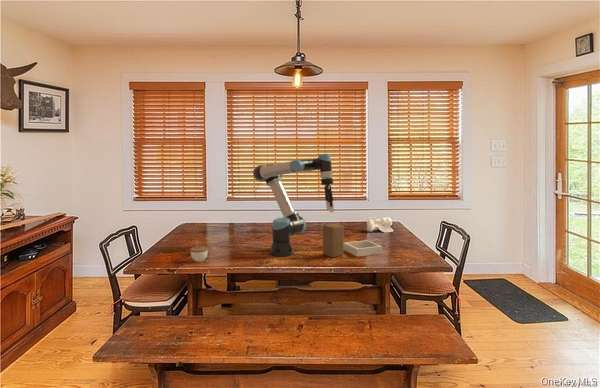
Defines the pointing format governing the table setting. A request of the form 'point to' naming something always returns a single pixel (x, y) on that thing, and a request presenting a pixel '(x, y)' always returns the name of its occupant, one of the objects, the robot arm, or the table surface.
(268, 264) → the table surface
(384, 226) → the cherub figurine
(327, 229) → the wooden block
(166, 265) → the table surface
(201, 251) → the white round bowl
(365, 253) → the box
